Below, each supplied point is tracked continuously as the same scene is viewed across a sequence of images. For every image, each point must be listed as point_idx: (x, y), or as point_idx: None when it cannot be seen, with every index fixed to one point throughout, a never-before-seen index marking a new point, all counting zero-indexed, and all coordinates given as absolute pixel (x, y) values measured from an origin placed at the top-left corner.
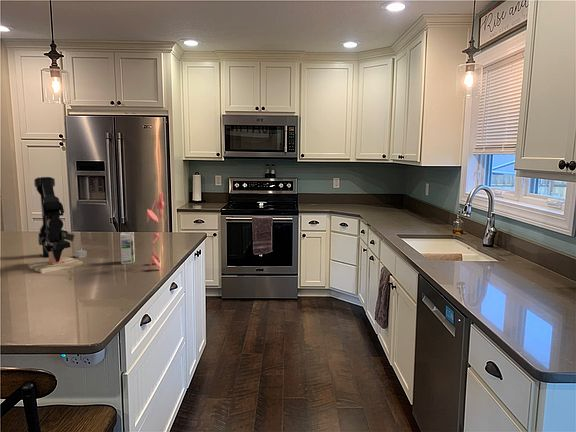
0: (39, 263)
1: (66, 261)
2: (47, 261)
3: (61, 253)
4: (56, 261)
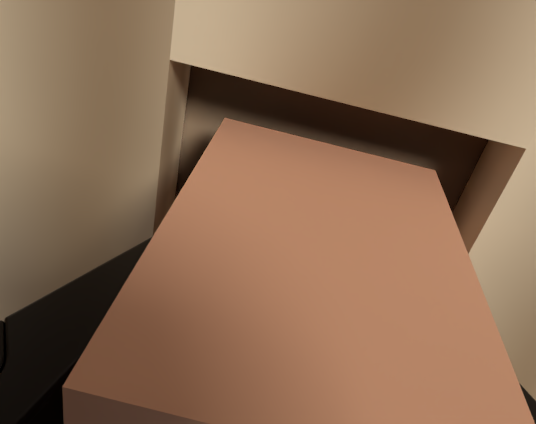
0: None
1: (441, 34)
2: (32, 231)
3: (519, 406)
4: None
